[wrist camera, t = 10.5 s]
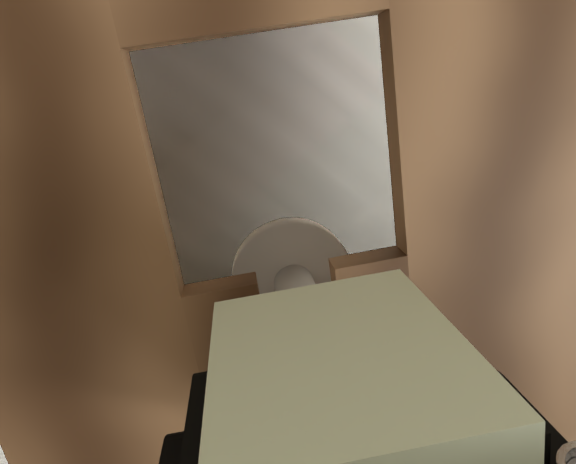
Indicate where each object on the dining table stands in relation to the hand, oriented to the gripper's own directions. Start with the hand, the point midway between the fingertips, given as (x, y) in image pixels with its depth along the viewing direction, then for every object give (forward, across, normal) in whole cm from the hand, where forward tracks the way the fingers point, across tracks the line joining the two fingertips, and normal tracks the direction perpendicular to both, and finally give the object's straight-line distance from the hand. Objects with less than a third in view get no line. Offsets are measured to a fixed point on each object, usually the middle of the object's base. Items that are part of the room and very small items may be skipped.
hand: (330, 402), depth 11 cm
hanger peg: (+9, 0, 0) cm, 9 cm away
